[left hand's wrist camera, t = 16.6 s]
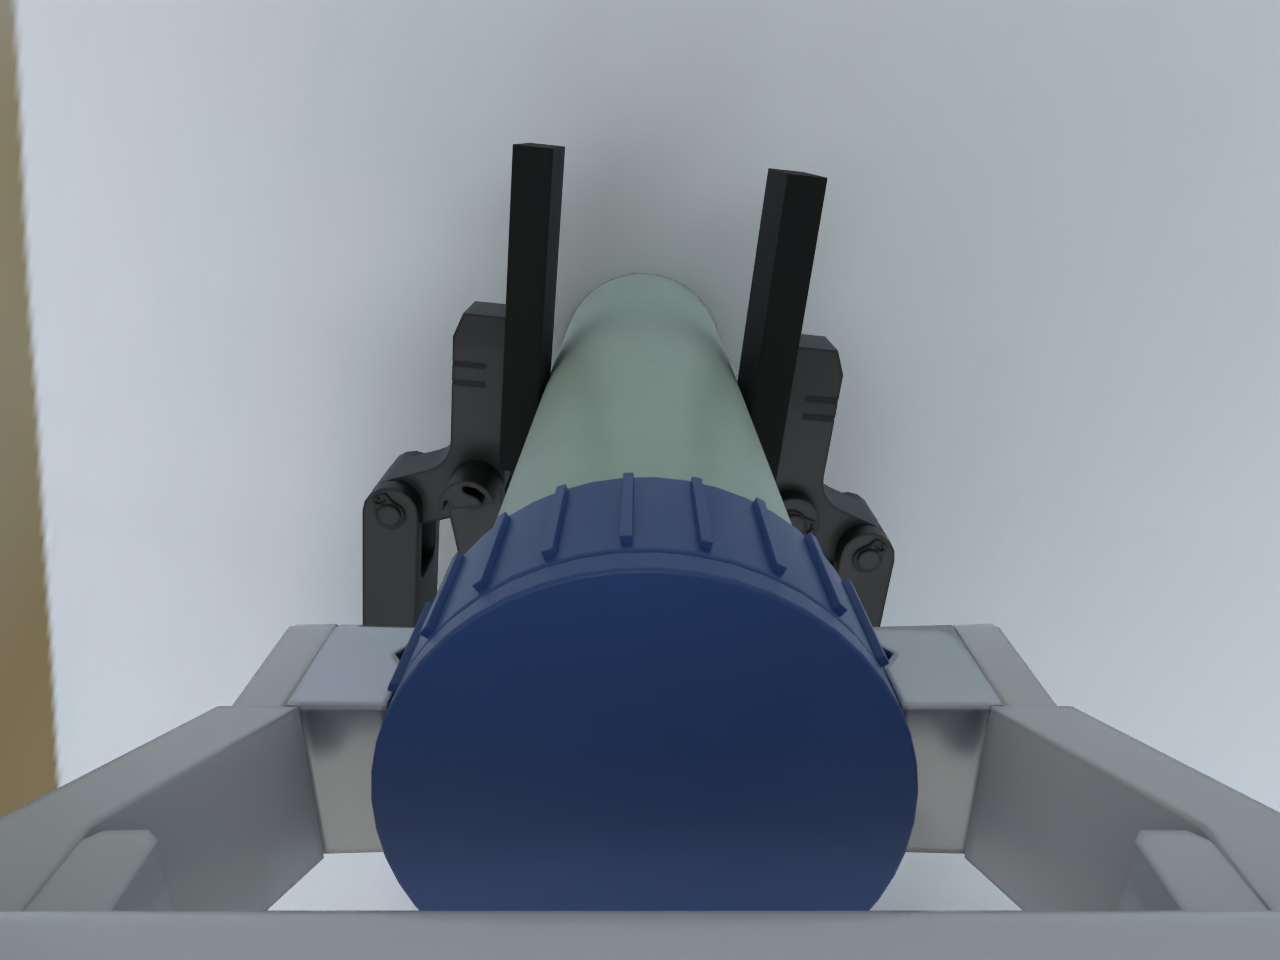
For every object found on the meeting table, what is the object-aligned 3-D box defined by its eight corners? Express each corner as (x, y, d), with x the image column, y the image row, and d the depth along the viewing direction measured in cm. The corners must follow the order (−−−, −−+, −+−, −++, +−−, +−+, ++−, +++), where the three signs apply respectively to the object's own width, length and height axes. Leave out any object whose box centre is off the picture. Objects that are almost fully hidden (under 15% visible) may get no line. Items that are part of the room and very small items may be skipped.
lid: (321, 630, 10) (240, 755, 8) (709, 371, 9) (729, 441, 7) (592, 913, 11) (583, 1078, 9) (950, 725, 10) (1025, 865, 8)
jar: (625, 240, 24) (592, 480, 8) (750, 336, 25) (963, 734, 8) (534, 367, 25) (336, 807, 9) (656, 452, 26) (683, 996, 10)
